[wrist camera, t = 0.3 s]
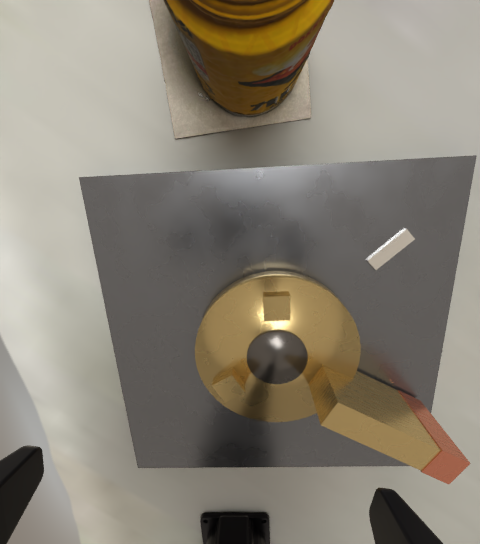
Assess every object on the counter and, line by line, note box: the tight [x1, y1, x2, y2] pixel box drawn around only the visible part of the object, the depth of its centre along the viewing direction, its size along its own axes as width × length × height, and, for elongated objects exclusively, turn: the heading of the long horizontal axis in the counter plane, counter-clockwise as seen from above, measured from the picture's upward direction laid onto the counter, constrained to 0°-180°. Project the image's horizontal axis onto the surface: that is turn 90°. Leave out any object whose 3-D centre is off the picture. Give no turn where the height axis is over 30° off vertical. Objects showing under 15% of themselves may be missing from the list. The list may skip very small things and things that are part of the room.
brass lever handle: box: [195, 271, 470, 484], centre depth 18 cm, size 12×16×5 cm
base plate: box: [79, 156, 476, 468], centre depth 21 cm, size 24×24×1 cm
